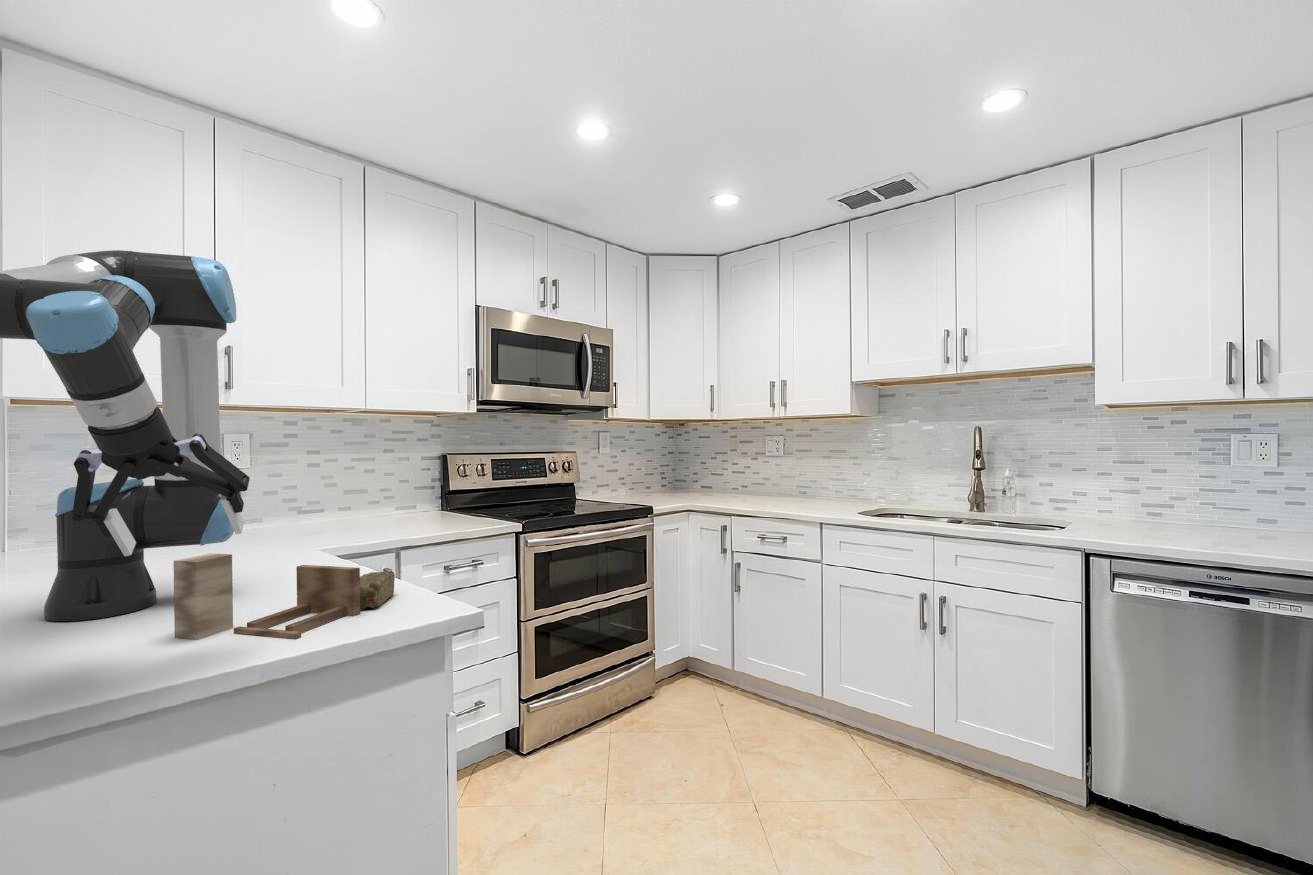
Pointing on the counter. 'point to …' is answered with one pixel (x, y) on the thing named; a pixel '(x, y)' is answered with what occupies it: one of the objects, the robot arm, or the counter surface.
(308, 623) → the wooden book stand
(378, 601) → the stone block
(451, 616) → the counter surface
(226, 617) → the light wooden block
